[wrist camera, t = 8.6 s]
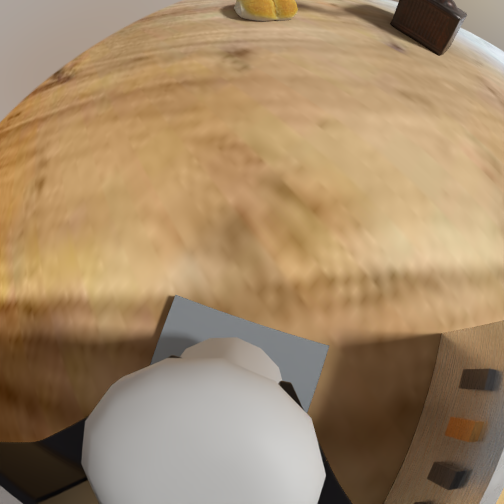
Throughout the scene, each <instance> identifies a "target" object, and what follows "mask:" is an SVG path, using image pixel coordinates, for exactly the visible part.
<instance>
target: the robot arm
mask: <svg viewBox="0 0 504 504" xmlns="http://www.w3.org/2000/svg"><path fill="white" fill-rule="evenodd" d="M168 358H181V357H179V356H175V355H171V356H169V357H168ZM278 384H279V385H280V386H281V388H282V389H283V390H284V391H285V392H286V393H287V394H288V395H289V396H290V397H291V398H292V399H293V400H294V401H295V402H296V403H297V404H298V405H299V406H300V407H301V408H302V409H303V407H302V405H301V403H300V400H299V398H298V396H297V394H296V392H295V389H294V387H293V385H292V383H291V382H287V381H279V383H278ZM303 410H304V409H303ZM88 417H89V416H87V417H86V418H84V419H82V420H80V421H79V422H77V423H75V424H73V425H71V426H70V427H68V428H66V429H64V430H62V431H60V432H58V433H56V434H54V435H52V436H50V437H48V438H45V439H43V440H40V441H36V442H0V504H99V502H98V500H97V498H96V496H95V494H94V492H93V490H92V487H91V485H90V483H89V481H88V478H87V476H86V474H85V471H84V469H83V466H82V464H81V461H82V448H83V437H84V428H85V421H86V419H87V418H88ZM317 441H318V440H317ZM318 445H319V449H320V453H321V457H322V461H323V465H324V469H325V473H326V477H325V480H324V484H323V487H322V490H321V494H320V497H319V500H318V503H317V504H352V503H351V501H350V500H349V498H348V497H347V495H346V494H345V492H344V491H343V489H342V487H341V486H340V484H339V483H338V481H337V479H336V477H335V475H334V473H333V471H332V469H331V467H330V465H329V463H328V461H326V457H325V455H324V452H323V450H322V448H321V446H320V444H319V442H318Z"/></svg>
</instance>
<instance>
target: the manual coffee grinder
mask: <svg viewBox="0 0 504 504" xmlns="http://www.w3.org/2000/svg"><path fill="white" fill-rule="evenodd" d="M466 16H467V14H466V13H465V12H463V11H462V10H461V9H459V8H457V6H456V5H455V3H454V1H453V0H399V3H398V6H397V8H396V11H395V14H394V17H393V20H392V22H391V23H390V24H391V25H392V26H394V27H395V28H397V29H398V30H400V31H401V32H403V33H404V34H406V35H408V36H409V37H411V38H412V39H414V40H416V41H417V42H419V43H420V44H422V45H423V46H425V47H426V48H428V49H429V50H431V51H433V52H434V53H436V54H437V55H439V56H440V55H443V54H444V53H445V52H446V51H447V50H448V49H449V47H450V46H451V44H452V42H453V40H454V38H455V36H456V34H457V32H458V31H459V29H460V27H461V25H462V23H463V21H464V19H465V18H466Z"/></svg>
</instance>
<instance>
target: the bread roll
mask: <svg viewBox="0 0 504 504" xmlns="http://www.w3.org/2000/svg"><path fill="white" fill-rule="evenodd" d="M234 9H235V11H236V13H237V14H238V15H239V16H240V17H242V18H244V19H248V20H255V21H273V20H278V21H283V20H290V19H292V18H293V17H294V16H295V15H296V13H297V10H298V8H297V4H296V2H295V0H237V1H236V4H235V7H234Z"/></svg>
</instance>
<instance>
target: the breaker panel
mask: <svg viewBox="0 0 504 504" xmlns="http://www.w3.org/2000/svg"><path fill="white" fill-rule="evenodd" d="M503 488H504V320H503V321H499V322H495V323H490V324H486V325H481V326H477V327H472V328H467V329H462V330H456V331H451V332H445V333H442V334H441V339H440V345H439V350H438V354H437V359H436V363H435V368H434V372H433V376H432V380H431V384H430V387H429V391H428V395H427V398H426V401H425V405H424V408H423V411H422V414H421V417H420V420H419V423H418V426H417V429H416V432H415V434H414V437H413V440H412V442H411V445H410V448H409V450H408V453H407V455H406V457H405V460H404V462H403V464H402V467H401V469H400V471H399V473H398V476H397V478H396V480H395V482H394V484H393V486H392V488H391V490H390V492H389V494H388V496H387V498H386V500H385V502H384V504H496V502H497V500H498V498H499V496H500V494H501V492H502V490H503Z"/></svg>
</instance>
